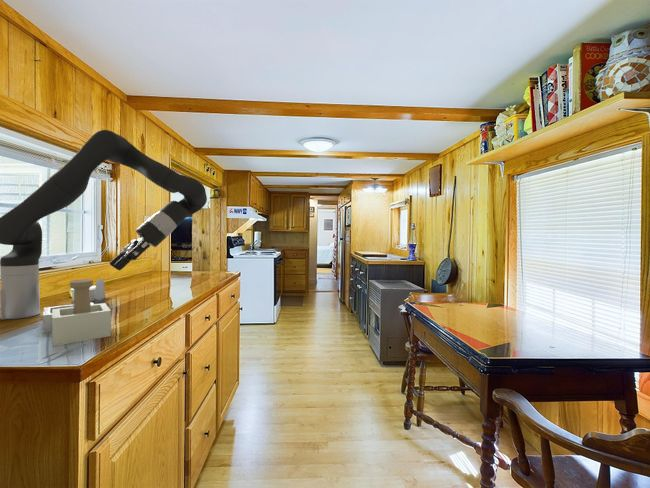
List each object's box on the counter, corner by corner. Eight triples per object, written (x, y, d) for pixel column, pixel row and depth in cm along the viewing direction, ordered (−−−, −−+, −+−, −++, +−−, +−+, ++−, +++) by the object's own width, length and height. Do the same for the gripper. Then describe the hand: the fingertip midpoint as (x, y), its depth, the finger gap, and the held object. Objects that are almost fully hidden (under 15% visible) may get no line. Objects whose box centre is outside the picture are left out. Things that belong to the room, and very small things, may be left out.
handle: (94, 330, 90) (93, 278, 89) (93, 336, 84) (92, 281, 84) (72, 333, 87) (71, 280, 86) (70, 339, 82) (69, 283, 81)
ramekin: (90, 303, 125) (90, 290, 125) (63, 302, 125) (62, 289, 125) (110, 297, 136) (109, 285, 136) (84, 297, 136) (84, 285, 136)
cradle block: (52, 346, 77) (52, 318, 77) (52, 334, 86) (52, 309, 86) (111, 335, 85) (110, 310, 85) (105, 326, 94) (105, 303, 94)
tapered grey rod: (94, 337, 110) (93, 301, 104) (96, 299, 128) (95, 267, 123) (105, 335, 111) (105, 299, 106) (105, 298, 130) (105, 266, 125)
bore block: (43, 333, 87) (43, 315, 87) (44, 323, 96) (43, 307, 96) (96, 325, 95) (96, 308, 95) (92, 317, 104) (92, 302, 104)
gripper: (142, 220, 101) (99, 257, 94) (153, 219, 90) (105, 260, 83) (160, 236, 105) (120, 273, 98) (172, 237, 94) (128, 278, 87)
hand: (113, 267), depth 90 cm, fingers open, 8 cm apart
